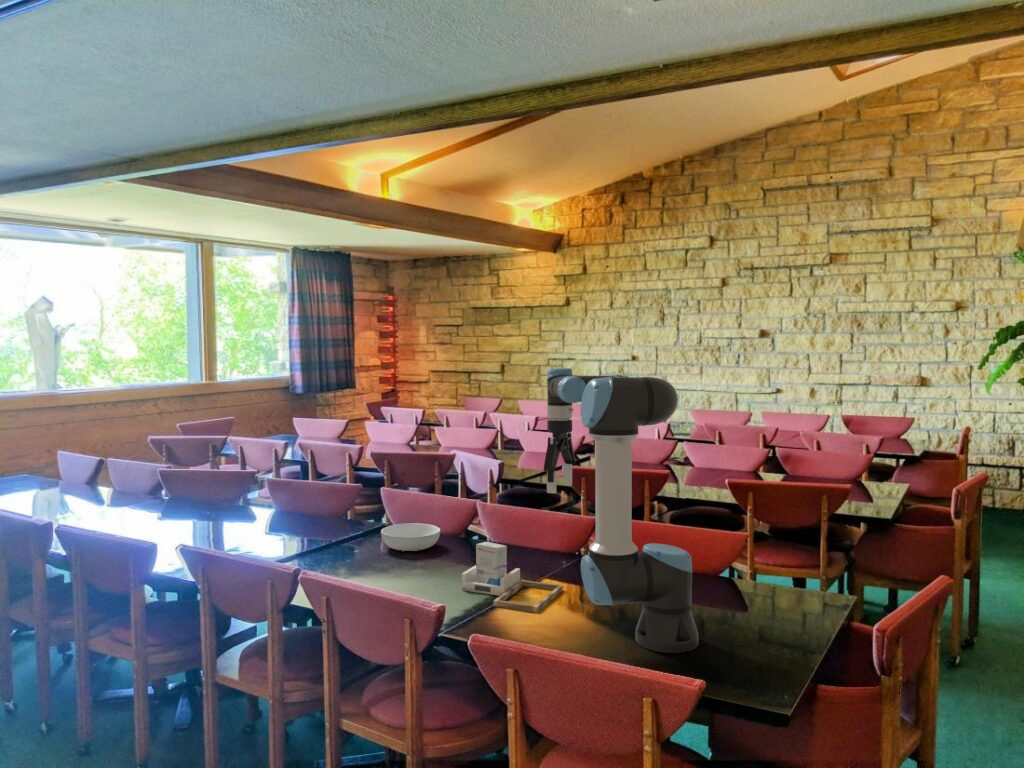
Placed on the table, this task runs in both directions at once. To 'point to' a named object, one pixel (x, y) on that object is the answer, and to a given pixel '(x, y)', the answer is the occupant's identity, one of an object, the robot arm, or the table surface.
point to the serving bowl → (410, 536)
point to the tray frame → (524, 607)
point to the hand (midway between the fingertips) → (559, 488)
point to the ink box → (490, 563)
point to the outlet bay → (505, 584)
